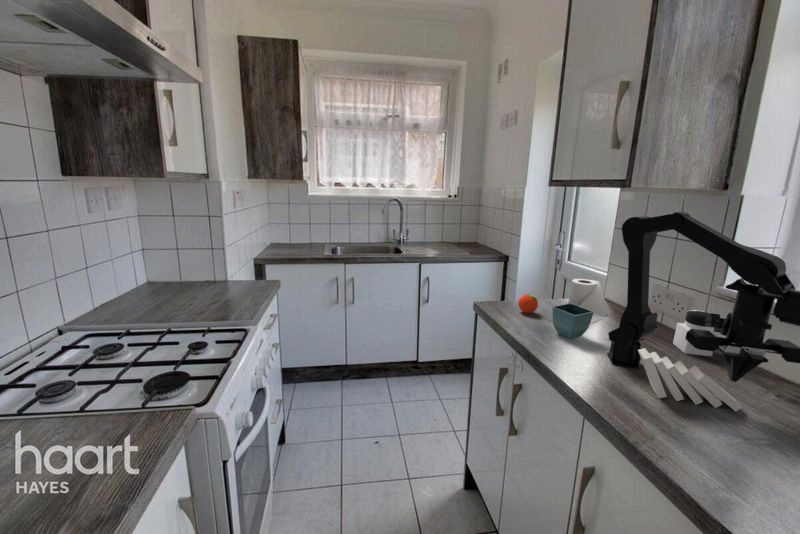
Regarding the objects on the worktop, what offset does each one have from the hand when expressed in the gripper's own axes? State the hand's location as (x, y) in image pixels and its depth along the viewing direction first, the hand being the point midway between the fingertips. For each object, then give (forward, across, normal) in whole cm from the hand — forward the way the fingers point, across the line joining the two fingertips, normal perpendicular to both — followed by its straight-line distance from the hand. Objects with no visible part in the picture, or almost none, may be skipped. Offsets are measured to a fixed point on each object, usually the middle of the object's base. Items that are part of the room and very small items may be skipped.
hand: (732, 380), depth 81 cm
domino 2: (+6, +10, 0) cm, 11 cm away
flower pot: (+6, +29, -29) cm, 42 cm away
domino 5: (+5, -1, 0) cm, 5 cm away
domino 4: (+5, +2, 0) cm, 6 cm away
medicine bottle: (+6, -5, -31) cm, 32 cm away
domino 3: (+5, +6, 0) cm, 8 cm away
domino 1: (+6, +13, 0) cm, 14 cm away
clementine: (+6, +41, -46) cm, 62 cm away
